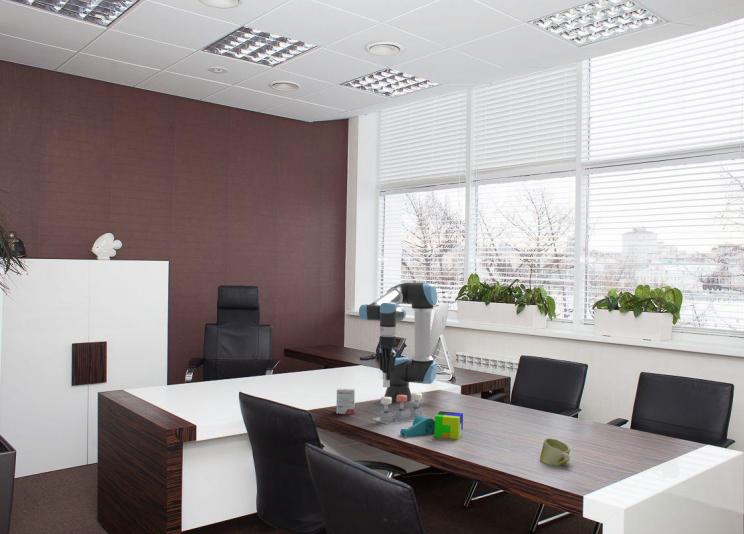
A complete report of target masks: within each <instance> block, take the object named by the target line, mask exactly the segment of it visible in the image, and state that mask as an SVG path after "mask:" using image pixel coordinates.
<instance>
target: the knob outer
mask: <svg viewBox="0 0 744 534" xmlns="http://www.w3.org/2000/svg"><path fill="white" fill-rule="evenodd" d="M392 403H393V402H392V398H391V397H384V396H381V397H380V404H381V405H383V407H384V408H383V411H384V412H388V411H389V405H391V404H392Z"/></svg>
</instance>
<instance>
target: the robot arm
mask: <svg viewBox="0 0 744 534" xmlns="http://www.w3.org/2000/svg"><path fill="white" fill-rule="evenodd" d="M437 302H438V293H437V289H436V287H435V285H434V284H433V283H428V282H403V283H399V284H397V285H394V286H392V287H391V288H389V289H388V290H386V293H384V294H383V295H382V296H380V297H379V298H378V299H376V300H373V302H371V303H369V304H361V305H360V306H359V309H358V317H359V318H360V320H365V321H376V322H377V321H378V322H379V336H378V338H379V342H378V344H379V345H380V348H378V349H377V351H376V352H377V355H378V364H379V370H380V371H381V372H382V387H383V388H386V390H385V393H384V395H383V397H391V398H392V403H395V402H397V401H396V396H397V395H407V402H406V403H409V402H411V401H413V400H412V399H411V396H412V392H411V390H410V383H413V384H414V383H415V384H422V385H430V384H433V382H434V381H435V379H436V377H437V372H438V365H437V362H435V361H434V358H433V357H432V355H431V313H432V310H434V306H436V305H437ZM402 305H411V309H412V310H413V312H414V356H413V355H412V357H411V359H410V357H407V356H405V357H397V356H398V352H397V351H395V348H394V346H395V345H396V343H397V342H396V340H397V339H396V336H397V335H396V334H397V332H396V331H397V322H399V323H400V322H401V321H403V320H404V319H405V318H406V315H407V312H406V309H405V308H404V307H403V306H402Z"/></svg>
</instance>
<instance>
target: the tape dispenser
mask: <svg viewBox="0 0 744 534" xmlns="http://www.w3.org/2000/svg"><path fill="white" fill-rule="evenodd" d="M399 431H400V436H401V435H404V436H406V437H407V438H409V437H416V436H423V435H430V434H435V419H433V418H430V417H427V416H424V415H423V414H422V415H419V416H417V417H416V418H415V419H414V421H413V422H412V425H411V426H410V427H408V428H402V429H400V430H399ZM406 437H405V438H406Z"/></svg>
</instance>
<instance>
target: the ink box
mask: <svg viewBox="0 0 744 534" xmlns="http://www.w3.org/2000/svg"><path fill="white" fill-rule="evenodd" d="M355 391H356V390H355V388H337V390H336V413H335V414H336V415H337V414H338V413H339V415H340V414H342V415H344V414H345V415H354V414H355V409H356V408H355V404H356V403H355V401H356V400H355V398H356V395H355V393H356V392H355Z"/></svg>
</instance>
